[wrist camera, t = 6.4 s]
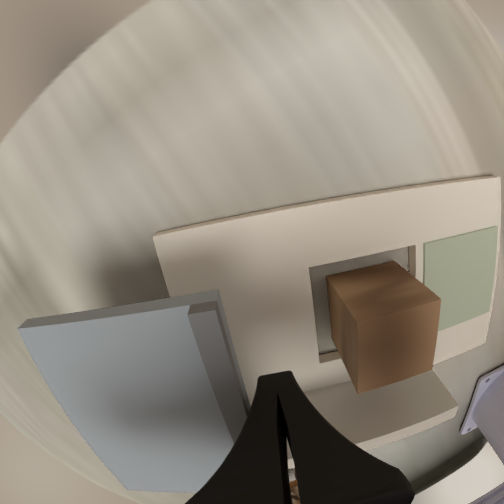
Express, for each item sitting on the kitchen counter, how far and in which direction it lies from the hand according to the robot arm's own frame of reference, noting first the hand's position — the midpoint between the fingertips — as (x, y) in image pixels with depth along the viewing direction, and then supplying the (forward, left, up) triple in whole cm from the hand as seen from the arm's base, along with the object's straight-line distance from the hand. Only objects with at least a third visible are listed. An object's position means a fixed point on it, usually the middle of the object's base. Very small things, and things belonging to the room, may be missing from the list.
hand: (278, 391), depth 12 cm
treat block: (-6, 0, -6) cm, 8 cm away
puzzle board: (-6, 0, -6) cm, 8 cm away
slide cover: (+5, 0, 0) cm, 5 cm away
